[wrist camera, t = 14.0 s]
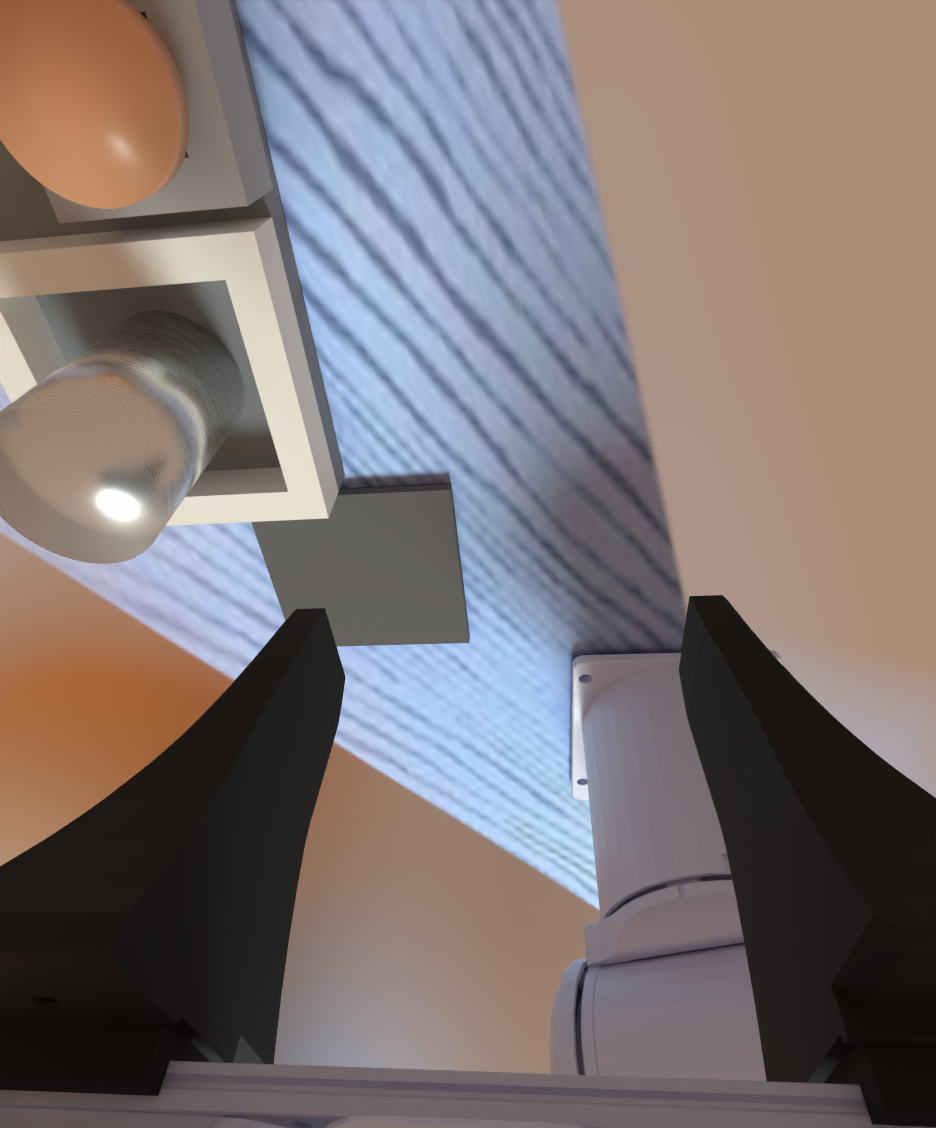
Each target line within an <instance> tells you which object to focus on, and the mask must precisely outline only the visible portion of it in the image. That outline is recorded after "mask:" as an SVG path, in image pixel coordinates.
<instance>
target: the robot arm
mask: <svg viewBox="0 0 936 1128" xmlns="http://www.w3.org/2000/svg"><path fill="white" fill-rule="evenodd" d="M585 674H586V675H588V676H581V675H585ZM344 684H345V674H344V671H343V667H342V664H341V661H340V657H339V654H338V650H337V647H336V644H335V640H334V637H333V633H332V630H331V627H330V623H329V620H328V616H327V613H326V609H325V608H311V609H296V610H295V611H294V612H293V613H292V614H291V615H290V616H289V618H288V619H287V620H286V621H285V622H284V623H283V625H282V626H281V627H280V628H279V629H278V631H277V632H276V633H275V634H274V635H273V637H272V638H271V639H270V640H269V641H268V643H267V644H266V645H265V646H264V647H263V649H262V650H261V651H260V652H259V653H258V655H257V656H256V657H255V658H254V659H253V661H252V662H251V663H250V664H249V665H248V666H247V667H246V668H245V670H244V671H243V672H242V673H241V674H240V675H239V676H238V678H237V679H236V680H235V681H234V682H233V683H232V685H231V686H230V687H229V688H228V689H227V690H226V691H225V692H224V693H223V694H222V695H221V696H220V697H219V698H218V699H217V701H216V702H215V703H214V704H213V705H212V706H211V707H210V708H209V709H208V710H207V711H206V712H205V713H204V714H203V715H202V716H201V717H200V718H199V719H198V720H197V721H196V722H195V723H194V724H193V725H192V726H191V727H190V728H189V729H188V730H187V731H186V732H185V733H184V734H183V735H182V736H181V737H180V738H179V739H177V740H176V741H175V742H174V743H173V744H172V745H171V746H170V747H168V748H167V749H166V750H165V751H164V752H163V753H162V754H161V755H159V756H158V757H157V758H156V759H155V760H153V761H152V762H151V763H150V764H149V765H147V766H146V767H145V768H144V769H142V770H141V771H140V772H138V773H137V774H136V775H135V776H133V777H132V778H131V779H129V780H128V781H127V782H126V783H125V784H123V785H122V786H121V787H119V788H118V789H117V790H115V791H114V792H113V793H112V794H110V795H109V796H108V797H106V798H105V799H104V800H102V801H101V802H99V803H98V804H97V805H95V806H94V807H92V808H91V809H90V810H88V811H87V812H85V813H84V814H82V815H81V816H80V817H78V818H77V819H75V820H74V821H72V822H71V823H69V824H68V825H66V826H65V827H63V828H62V829H60V830H59V831H57V832H56V833H54V834H53V835H51V836H50V837H48V838H46V839H45V840H43V841H42V842H40V843H38V844H37V845H35V846H34V847H32V848H30V849H29V850H27V851H25V852H23V853H22V854H20V855H18V856H17V857H15V858H13V859H12V860H10V861H8V862H7V863H5V864H3V865H2V866H0V1128H936V798H935V797H933V796H932V795H931V794H929V793H928V792H927V791H925V790H924V789H922V788H921V787H920V786H918V785H917V784H915V783H914V782H912V781H911V780H910V779H908V778H907V777H906V776H904V775H903V774H902V773H900V772H899V771H898V770H896V769H895V768H893V767H892V766H891V765H890V764H888V763H887V762H886V761H884V760H883V759H882V758H881V757H880V756H878V755H877V754H876V753H875V752H873V751H872V750H871V749H870V748H869V747H867V746H866V745H865V744H864V743H863V742H861V741H860V740H859V739H858V738H857V737H856V736H854V735H853V734H852V733H851V732H850V731H849V730H848V729H846V728H845V727H844V726H843V725H842V724H841V723H840V722H839V721H837V719H835V718H834V717H833V716H832V715H831V714H830V713H829V712H828V711H827V710H826V709H825V708H824V707H823V706H822V705H821V704H820V703H819V702H818V701H817V700H816V699H815V698H813V696H811V694H809V693H808V691H807V690H806V689H805V688H804V687H803V686H802V685H801V684H800V683H799V682H798V681H797V680H796V679H795V678H794V677H793V676H792V675H791V674H790V673H789V671H788V670H787V669H786V668H785V667H784V666H783V661H782V659H781V657H780V655H779V654H778V653H777V652H775V651H769V650H768V649H767V648H766V646H765V645H764V644H763V643H762V642H761V640H760V639H759V638H758V637H757V636H756V634H755V633H754V632H753V631H752V630H751V629H750V627H749V626H748V625H747V624H746V623H745V621H744V620H743V619H742V618H741V616H740V615H739V614H738V613H737V611H736V610H735V609H734V608H733V607H732V605H731V604H730V603H729V601H728V600H727V599H726V598H725V597H724V596H722V595H718V596H717V595H715V596H690V597H689V603H688V610H687V617H686V624H685V630H684V637H683V644H682V651H681V653H650V654H609V655H582V656H579V657H577V658H575V659H574V661H573V663H572V758H571V791H572V796H573V797H574V798H576V799H579V800H589V804H590V814H591V824H592V834H593V845H594V855H595V865H596V875H597V885H598V895H599V906H600V916H601V921H598V922H594V923H590V924H586V925H585V926H584V936H585V949H586V958H584V959H579V960H575V961H573V962H572V963H571V964H570V965H569V966H568V968H567V969H566V971H565V973H564V975H563V977H562V981H561V984H560V986H559V988H558V991H557V993H556V995H555V998H554V1002H553V1006H552V1012H551V1018H550V1032H549V1053H550V1068H551V1074H537V1073H536V1074H534V1073H508V1072H479V1071H450V1070H420V1069H392V1068H364V1067H361V1068H360V1067H335V1066H333V1067H332V1066H305V1065H304V1066H303V1065H276V1064H274V1054H275V1044H276V1036H277V1027H278V1018H279V1010H280V1001H281V993H282V985H283V978H284V971H285V963H286V955H287V948H288V942H289V935H290V928H291V922H292V916H293V910H294V904H295V897H296V891H297V885H298V880H299V874H300V869H301V863H302V858H303V852H304V847H305V842H306V838H307V834H308V829H309V825H310V821H311V818H312V814H313V811H314V807H315V804H316V800H317V797H318V794H319V790H320V787H321V783H322V780H323V776H324V773H325V769H326V766H327V762H328V759H329V755H330V752H331V748H332V745H333V741H334V738H335V734H336V730H337V727H338V723H339V717H340V711H341V705H342V698H343V691H344Z"/></svg>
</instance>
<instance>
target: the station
mask: <svg viewBox="0 0 936 1128" xmlns="http://www.w3.org/2000/svg"><path fill="white" fill-rule="evenodd" d="M126 1H127V2H128V3H130V4H131V5H132V6H133V7H134V8H135V9H136V10H137V11H138V12H139V13H140V14H141V15H142V16H143V17H144V18H145V19H146V20H147V21H148V22H149V24H150V25H151V26H152V27H153V28H154V29H155V31H156V32H157V34H158V35H159V37H160V38H161V40H162V41H163V42H164V44H165V46H166V48H167V49H168V51H169V53H170V55H171V56H172V58H173V61H174V63H175V65H176V67H177V69H178V72H179V74H180V77H181V80H182V83H183V86H184V90H185V94H186V98H187V103H188V111H189V140H188V146H187V150H186V154H185V157H184V160H183V162H182V165H181V167H180V169H179V170H178V172H177V174H176V176H175V177H174V178H173V179H172V180H171V182H170V183H169V184H168V185H167V186H165V187H164V188H163V189H162V190H161V191H159V192H157V193H155V194H154V195H152V196H150V197H148V198H145V199H143V200H141V201H139V202H137V203H134V204H132V205H129V206H126V207H121V208H115V209H101V208H93V207H88V206H85V205H81V204H78V203H75V202H73V201H70V200H68V199H66V198H64V197H62V196H60V195H58V194H56V193H54V192H53V191H51V190H50V189H48V188H47V187H45V186H44V185H42V184H41V183H40V182H39V181H38V180H36V179H35V178H34V177H33V176H31V175H30V174H29V173H28V172H27V171H26V170H25V169H24V168H23V167H22V166H21V165H20V164H19V163H18V162H17V160H16V159H15V158H14V157H13V156H12V155H11V154H10V152H9V151H8V150H7V148H6V147H5V145H4V144H3V143H2V141H1V140H0V382H1V384H2V386H3V388H4V389H5V391H6V393H7V395H8V397H9V399H10V401H11V402H12V403H13V402H14V401H15V400H17V399H18V398H19V397H21V396H22V395H23V394H25V393H26V392H27V391H29V390H30V389H31V388H33V387H34V386H36V385H37V384H38V383H40V382H41V381H42V380H44V379H45V378H46V377H48V376H49V375H50V374H52V373H53V372H54V371H56V370H57V369H58V368H60V367H61V366H62V365H64V364H65V363H66V362H68V361H69V360H70V359H72V358H73V357H74V356H76V355H77V354H78V353H80V352H81V351H82V350H84V349H85V348H86V347H88V346H89V345H90V344H92V343H93V342H94V341H96V340H97V339H98V338H100V337H101V336H102V335H104V334H105V333H106V332H108V331H109V330H110V329H112V328H113V327H114V326H116V325H117V324H118V323H120V322H121V321H122V320H124V319H125V318H127V317H129V316H131V315H134V314H137V313H140V312H146V311H163V312H170V313H174V314H178V315H180V316H183V317H186V318H188V319H190V320H192V321H194V322H196V323H198V324H199V325H201V326H203V327H204V328H206V329H207V330H208V331H209V332H211V333H212V334H213V335H214V336H215V337H216V338H218V339H219V340H220V341H221V342H222V344H223V345H224V346H225V347H226V348H227V350H228V351H229V352H230V354H231V355H232V357H233V358H234V360H235V362H236V364H237V366H238V368H239V370H240V373H241V376H242V379H243V383H244V391H245V402H244V407H243V411H242V414H241V417H240V418H239V420H238V422H237V423H236V425H235V426H234V428H233V429H232V431H231V432H230V433H229V435H228V436H227V438H226V439H225V441H224V442H223V444H222V445H221V446H220V448H219V449H218V451H217V452H216V454H215V455H214V456H213V458H212V459H211V461H210V462H209V464H208V465H207V466H206V468H205V469H204V471H203V472H202V474H201V475H200V477H199V478H198V479H197V481H196V482H195V484H194V485H193V487H192V488H191V489H190V491H189V492H188V494H187V495H186V497H185V498H184V499H183V501H182V502H181V504H180V505H179V507H178V508H177V510H176V511H175V512H174V514H173V515H172V517H171V518H170V520H169V521H168V522H167V524H166V525H165V526H171V525H193V524H215V523H237V522H259V521H281V520H303V519H325V518H329V516H330V513H331V511H332V508H333V505H334V503H335V500H336V497H337V495H338V492H339V489H340V487H341V484H342V482H343V479H344V476H345V475H344V470H343V466H342V462H341V457H340V453H339V449H338V445H337V440H336V436H335V432H334V427H333V423H332V419H331V414H330V410H329V406H328V401H327V397H326V393H325V389H324V384H323V380H322V376H321V371H320V367H319V363H318V358H317V354H316V350H315V346H314V341H313V337H312V333H311V328H310V324H309V320H308V315H307V311H306V307H305V302H304V298H303V294H302V290H301V285H300V281H299V277H298V272H297V268H296V264H295V259H294V255H293V251H292V246H291V242H290V238H289V234H288V229H287V225H286V221H285V216H284V212H283V208H282V203H281V199H280V195H279V191H278V186H277V182H276V178H275V173H274V169H273V165H272V160H271V156H270V152H269V147H268V143H267V139H266V135H265V130H264V126H263V122H262V117H261V113H260V109H259V104H258V100H257V96H256V91H255V87H254V83H253V79H252V74H251V70H250V66H249V61H248V57H247V53H246V48H245V44H244V40H243V36H242V31H241V27H240V23H239V18H238V14H237V10H236V5H235V1H234V0H126Z"/></svg>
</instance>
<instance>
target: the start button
mask: <svg viewBox="0 0 936 1128" xmlns="http://www.w3.org/2000/svg"><path fill="white" fill-rule="evenodd" d="M0 140H1V141H2V143H3V144H4V145H5V147H6V148H7V150H8V151H9V152H10V154H11V155H12V156H13V157H14V158H15V159H16V160H17V162H18V163H19V164H20V165H21V166H22V167H23V168H24V169H25V170H26V171H27V172H28V173H29V174H30V175H31V176H33V177H34V178H35V179H36V180H38V181H39V182H40V183H41V184H42V185H44V186H45V187H47V188H48V189H50V190H51V191H53V192H54V193H56V194H58V195H60V196H62V197H64V198H66V199H68V200H70V201H73V202H75V203H78V204H81V205H85V206H88V207H93V208H101V209H115V208H121V207H126V206H129V205H132V204H134V203H137V202H139V201H141V200H143V199H145V198H148V197H150V196H152V195H154V194H155V193H157V192H159V191H161V190H162V189H163V188H164V187H165V186H167V185H168V184H169V183H170V182H171V180H172V179H173V178H174V177H175V176H176V174H177V172H178V170H179V169H180V167H181V165H182V162H183V160H184V157H185V154H186V150H187V146H188V140H189V111H188V103H187V98H186V94H185V90H184V86H183V83H182V80H181V77H180V74H179V72H178V69H177V67H176V65H175V63H174V61H173V58H172V56H171V55H170V53H169V51H168V49H167V48H166V46H165V44H164V42H163V41H162V40H161V38H160V37H159V35H158V34H157V32H156V31H155V29H154V28H153V27H152V26H151V25H150V24H149V22H148V21H147V20H146V19H145V18H144V17H143V16H142V15H141V14H140V13H139V12H138V11H137V10H136V9H135V8H134V7H133V6H132V5H131V4H130V3H128V2H127V1H126V0H0Z"/></svg>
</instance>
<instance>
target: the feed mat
mask: <svg viewBox="0 0 936 1128" xmlns="http://www.w3.org/2000/svg"><path fill="white" fill-rule="evenodd" d="M252 525H253V528H254V531H255V534H256V537H257V540H258V543H259V545H260V548H261V551H262V554H263V557H264V560H265V563H266V566H267V568H268V571H269V574H270V577H271V580H272V583H273V586H274V589H275V592H276V594H277V597H278V600H279V603H280V606H281V609H282V612H283V615H284V617H285V620H287V619H288V618H289V616H290V615H291V614H292V613H293V612H294V611H295V610H296V609H311V608H325V609H326V613H327V616H328V620H329V623H330V627H331V630H332V633H333V637H334V640H335V644H336V646H366V645H403V644H441V643H469V637H470V635H469V626H468V618H467V610H466V602H465V594H464V585H463V577H462V569H461V561H460V553H459V544H458V536H457V528H456V520H455V511H454V503H453V495H452V487H451V483H449V484H428V485H408V486H388V487H368V488H348V489H339V492H338V495H337V497H336V500H335V503H334V505H333V508H332V511H331V513H330V516H329V518H325V519H303V520H281V521H259V522H252Z"/></svg>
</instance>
